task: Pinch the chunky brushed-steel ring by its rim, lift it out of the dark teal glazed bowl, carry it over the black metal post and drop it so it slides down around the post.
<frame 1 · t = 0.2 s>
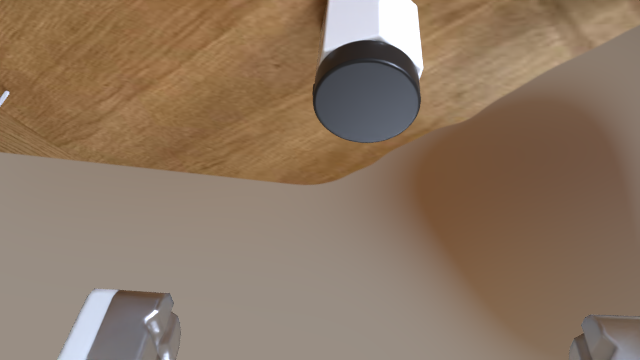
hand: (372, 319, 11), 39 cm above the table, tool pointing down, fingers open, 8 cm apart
lollipop: (8, 91, 59), on the table
jar: (367, 18, 50), on the table
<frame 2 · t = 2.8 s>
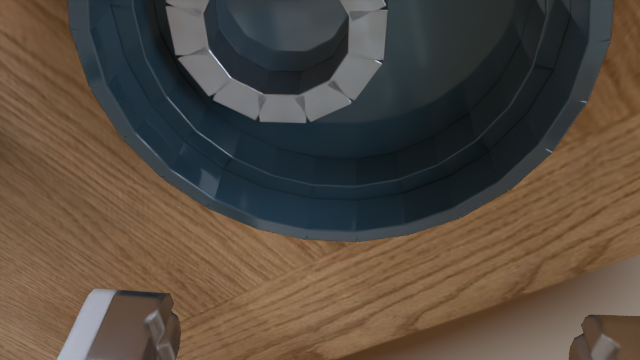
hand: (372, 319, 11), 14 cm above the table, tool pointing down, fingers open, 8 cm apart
ring: (282, 12, 21), resting on bowl
bowl: (338, 8, 22), on the table
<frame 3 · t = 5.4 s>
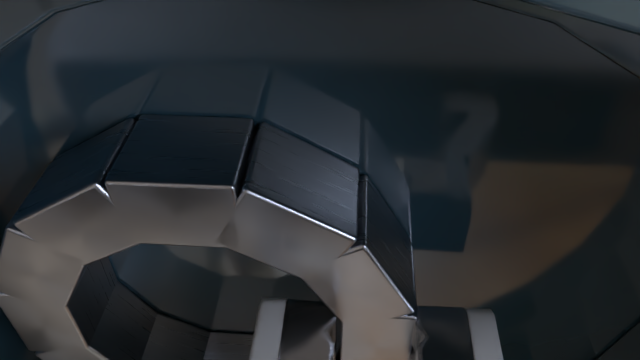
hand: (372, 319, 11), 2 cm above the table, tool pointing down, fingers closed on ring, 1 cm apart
ring: (225, 265, 12), point 1 cm above the table, touching bowl, gripper
bowl: (321, 253, 12), on the table
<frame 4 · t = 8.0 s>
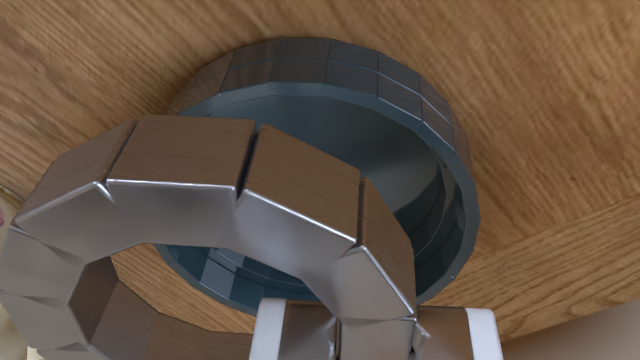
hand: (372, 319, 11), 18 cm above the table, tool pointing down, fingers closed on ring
ring: (226, 265, 12), point 16 cm above the table, touching gripper
bowl: (313, 172, 32), on the table
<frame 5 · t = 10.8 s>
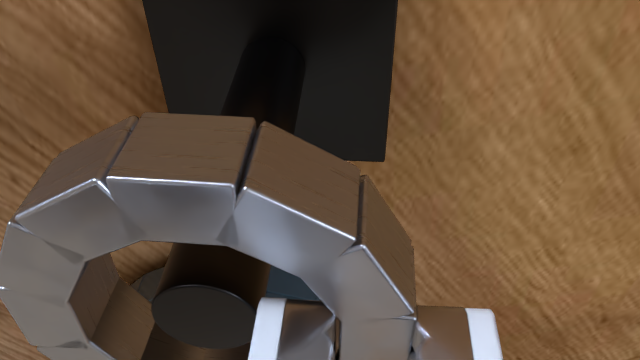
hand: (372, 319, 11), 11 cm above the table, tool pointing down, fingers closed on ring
post: (276, 52, 19), on the table
ring: (226, 263, 12), point 10 cm above the table, touching gripper
bowl: (264, 347, 32), on the table
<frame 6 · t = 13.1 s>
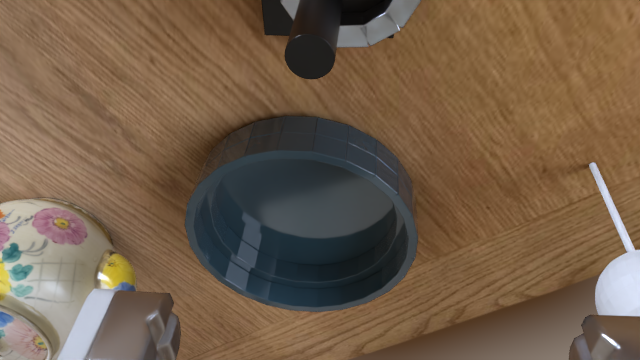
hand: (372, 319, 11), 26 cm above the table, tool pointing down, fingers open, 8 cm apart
lollipop: (591, 163, 40), on the table
teapot: (67, 228, 50), on the table
bowl: (306, 201, 45), on the table
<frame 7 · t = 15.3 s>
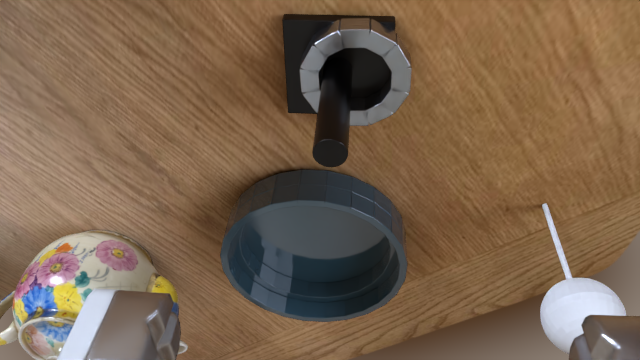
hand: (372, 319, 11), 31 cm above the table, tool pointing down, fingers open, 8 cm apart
lollipop: (544, 204, 51), on the table
post: (338, 64, 42), on the table
teapot: (115, 254, 60), on the table
ring: (355, 68, 41), point 1 cm above the table, touching post
bowl: (316, 232, 55), on the table
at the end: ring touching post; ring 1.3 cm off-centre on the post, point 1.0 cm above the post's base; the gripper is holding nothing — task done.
